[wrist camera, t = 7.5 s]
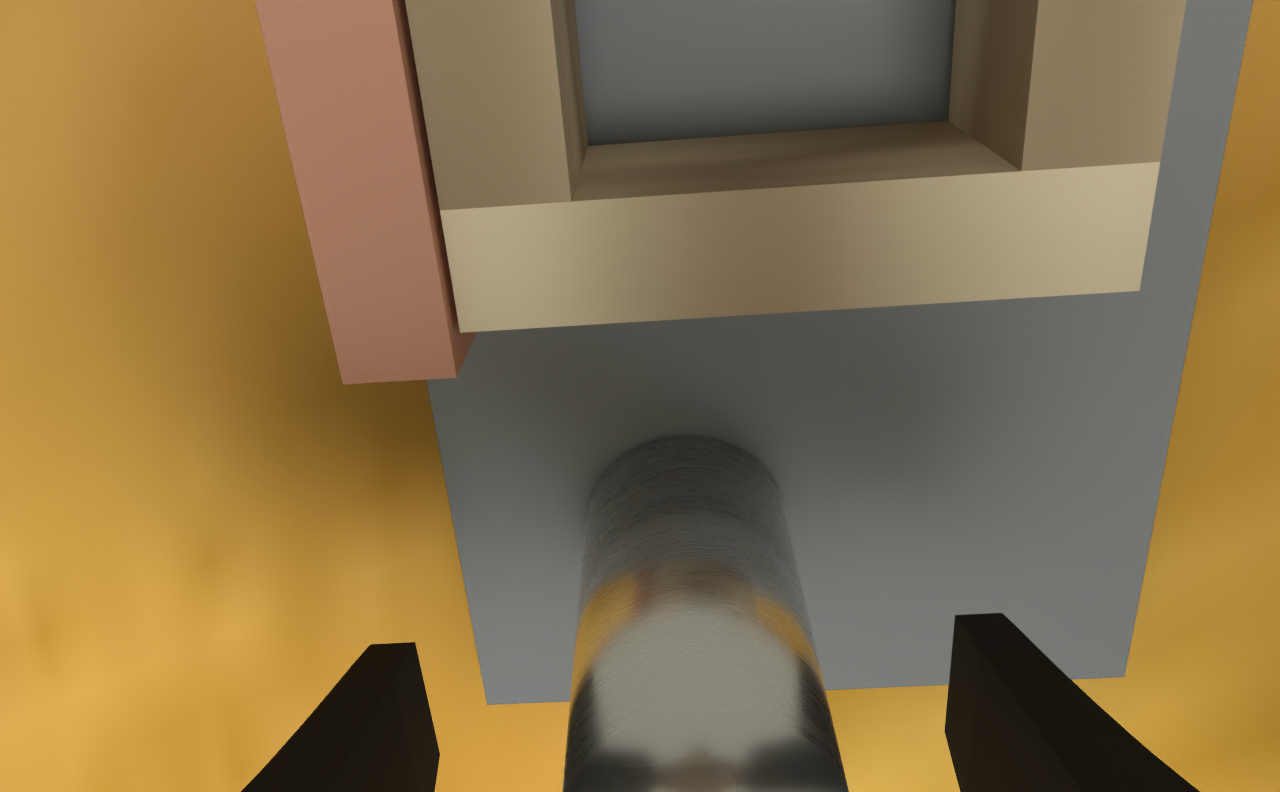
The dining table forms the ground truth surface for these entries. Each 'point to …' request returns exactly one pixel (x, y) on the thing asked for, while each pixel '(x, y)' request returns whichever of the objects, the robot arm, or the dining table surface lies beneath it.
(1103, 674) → the board
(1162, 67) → the wooden square ring
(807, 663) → the peg
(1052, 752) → the robot arm
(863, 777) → the dining table surface
